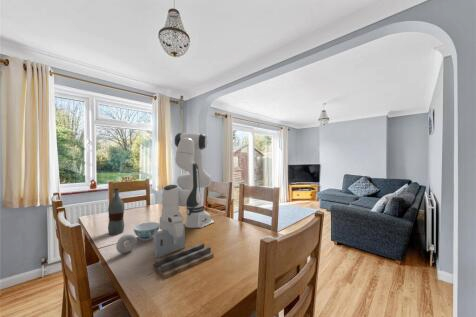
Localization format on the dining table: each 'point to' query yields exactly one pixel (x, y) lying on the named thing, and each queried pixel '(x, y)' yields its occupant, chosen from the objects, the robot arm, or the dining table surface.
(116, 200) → the bottle
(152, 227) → the chinaware
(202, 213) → the robot arm
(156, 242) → the door panel
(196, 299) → the dining table surface
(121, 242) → the donut
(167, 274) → the track base
